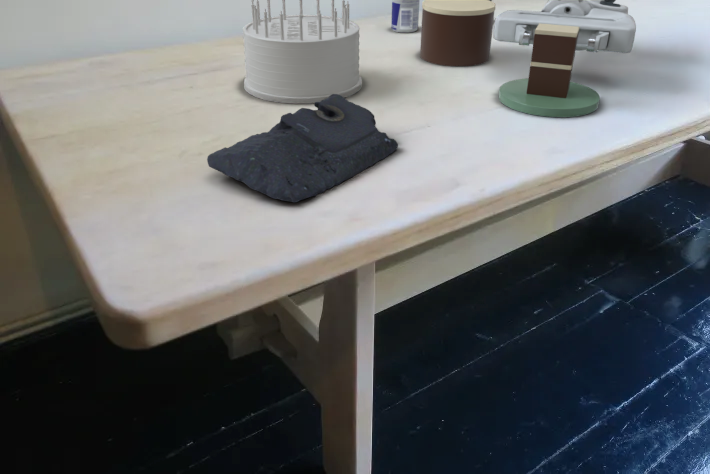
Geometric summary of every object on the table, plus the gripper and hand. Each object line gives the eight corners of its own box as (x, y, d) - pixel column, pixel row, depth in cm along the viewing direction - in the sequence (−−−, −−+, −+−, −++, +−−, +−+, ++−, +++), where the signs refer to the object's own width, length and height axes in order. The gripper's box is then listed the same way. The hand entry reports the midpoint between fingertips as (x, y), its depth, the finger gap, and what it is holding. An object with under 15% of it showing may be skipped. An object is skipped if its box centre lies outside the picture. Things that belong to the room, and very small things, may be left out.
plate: (601, 91, 99) (602, 83, 99) (595, 122, 88) (597, 114, 87) (507, 81, 104) (508, 73, 103) (490, 109, 92) (491, 101, 92)
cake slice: (568, 90, 96) (579, 26, 92) (566, 98, 93) (577, 33, 88) (530, 85, 98) (539, 23, 93) (526, 93, 95) (535, 29, 90)
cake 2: (495, 51, 119) (501, -1, 114) (482, 69, 109) (488, 13, 104) (429, 45, 123) (432, -6, 118) (410, 62, 113) (413, 7, 108)
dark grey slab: (186, 174, 73) (181, 134, 71) (311, 118, 89) (310, 83, 86) (292, 213, 66) (290, 169, 63) (409, 144, 81) (410, 107, 79)
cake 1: (366, 102, 95) (368, 5, 88) (239, 104, 94) (231, 6, 87) (357, 66, 110) (358, -18, 103) (248, 68, 109) (241, -17, 102)
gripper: (503, -4, 107) (487, 13, 95) (639, 6, 100) (638, 26, 89) (499, 36, 110) (482, 57, 99) (630, 48, 104) (628, 72, 92)
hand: (557, 42), depth 94 cm, fingers open, 8 cm apart
